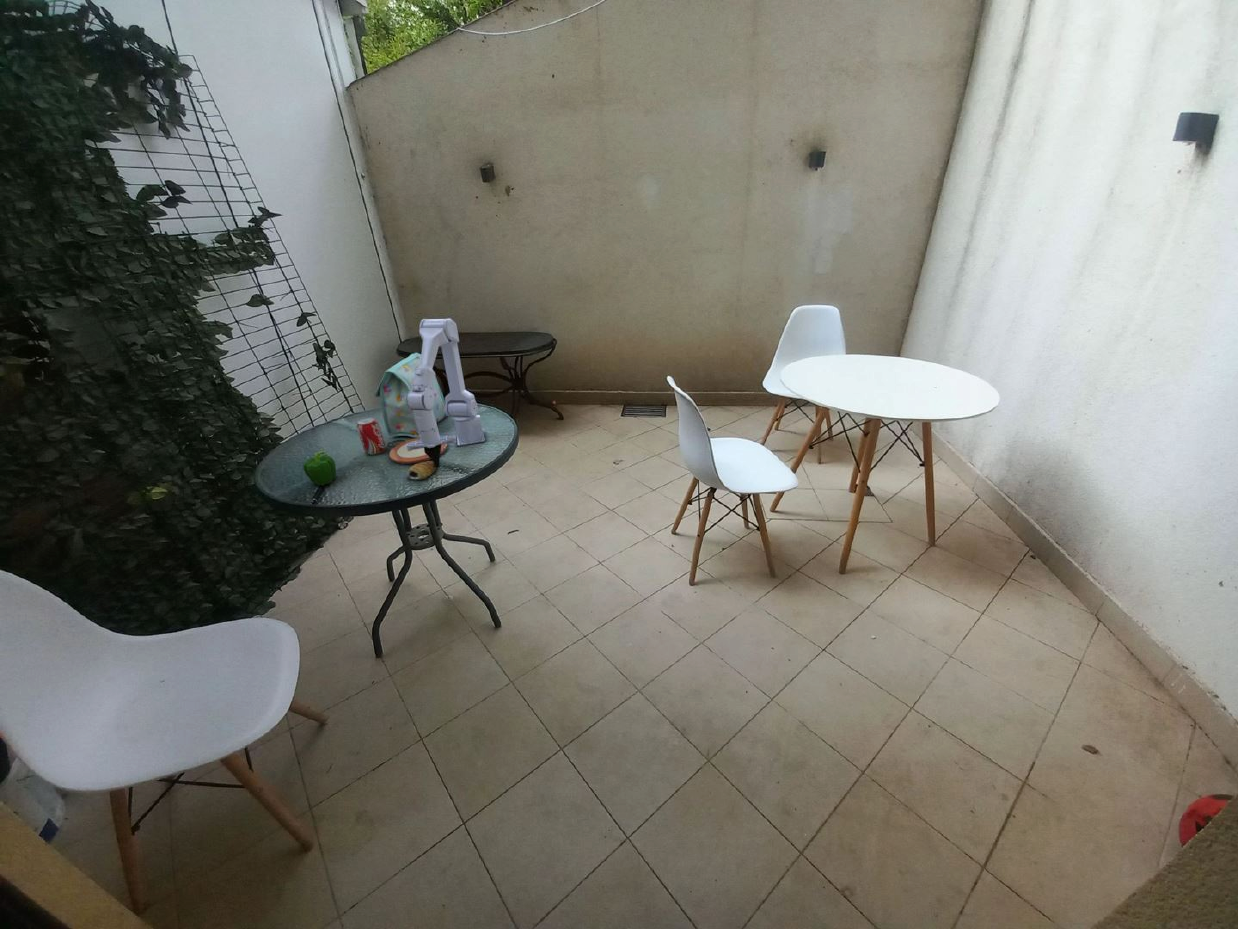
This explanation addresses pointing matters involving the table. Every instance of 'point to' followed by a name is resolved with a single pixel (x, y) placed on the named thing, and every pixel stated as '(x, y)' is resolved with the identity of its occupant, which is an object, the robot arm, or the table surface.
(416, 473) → the pastry
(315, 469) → the bell pepper
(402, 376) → the lunch bag
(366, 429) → the soda can
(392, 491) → the table surface
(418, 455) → the plate
